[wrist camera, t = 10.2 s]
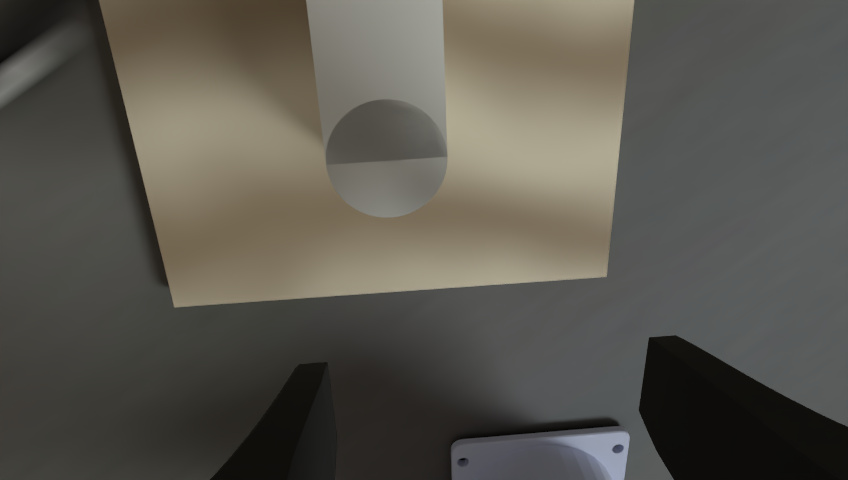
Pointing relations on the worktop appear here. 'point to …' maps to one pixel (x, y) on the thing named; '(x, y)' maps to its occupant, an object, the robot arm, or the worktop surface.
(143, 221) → the worktop surface
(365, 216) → the wood pad
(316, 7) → the usb connector
